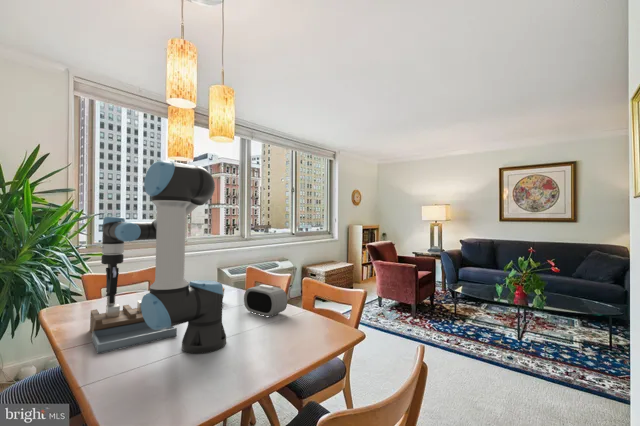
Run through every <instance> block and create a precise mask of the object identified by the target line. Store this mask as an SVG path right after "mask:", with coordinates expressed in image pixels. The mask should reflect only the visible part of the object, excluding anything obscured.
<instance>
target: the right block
mask: <svg viewBox="0 0 640 426" xmlns="http://www.w3.org/2000/svg"><path fill="white" fill-rule="evenodd" d="M141 301H142V299H141V300H137V303H136V304H137V306H136V308H137V311H138V312H139V313H141V312H142V311H141Z"/></svg>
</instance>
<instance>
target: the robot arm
mask: <svg viewBox="0 0 640 426" xmlns="http://www.w3.org/2000/svg"><path fill="white" fill-rule="evenodd" d="M215 183H216V182H215V180H214V177H213V175H212V173H210V172H209V170H207V169H206V168H204V167H202V166H198V165H191V164H186V163H181V162H177V161H173V160H170V161H169V160H162V159H161V160H157V161H154V162H153V163H152V164H151V165H150V166H149V167H148V169H147V171H146V174H145V177H144V183H143V184H144V185H143V187H144V191H145V193H146V194H147V195H148V196H150V197H151V203H152V204H153V205H155V206H156V218H155V219H154V220H153V221H149V222H148V221H147V222H146V221H145V222H142V221H126V220H125V217H124V216H105V217H104V218H103V221H102V225H101V226H102V235H101V236H102V242H101V244H102V245H101V246H100V249H101V254H102V255H101V264H103V265H107V267H105V272H106V275H105V277H106V279H105V280H106V290H105V291H106V294H105V297H106V305H113V304H116V295H118V294H117V293H118V292H117V290H118V282H119V281H118V279H119V274H120V273H119V272H120V271H119V268H120V267H118V266H117V265H118V264H119V265H120V264H123V263H124V257H125V256H124V252H125V243H126V242H135V241H154V240H155V273H154V274H155V275H154V277H155V278H154V282H153V283H151V285H149V292H148V293H146V294H145V295H143V296H142V299H141V300H142V301H141V300H140V301H141V311H142V315H143V318H144V320H145V322H146V324H147V325H148V326H149V327H150V328H151V329H154V330H160V329H164V328H170V327H172V326H175V327H176V326H179V325H181V324H185V323H187V326H186V330H185V332H184V335H183V338H182V341H181V350H182V351H184V352H186V353H189V354H197V355H198V354H199V355H200V354H206V353H211V352H212V353H213V352H215V351H218V350H221V349H222V348H224V347H225V345H226V344H227V334H226V330H225V328H224V324H223V300H224V296H223V288H224V285H223V284H222V283H221V282H218V281H214V280H205V279H202V280H201V279H199V280H198V279H195V280H191V281H189V282H188V281H187V280H186V279H185V265H186V264H185V258H186V257H185V256H186V217H188V216H189V215H190V214H191V213H192V212H194V210H196V208H197V207H199V206H203V205H205V204H207V202H208V201H210V199H211V198H212V197H213V195H214V193H215V188H216V184H215Z"/></svg>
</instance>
